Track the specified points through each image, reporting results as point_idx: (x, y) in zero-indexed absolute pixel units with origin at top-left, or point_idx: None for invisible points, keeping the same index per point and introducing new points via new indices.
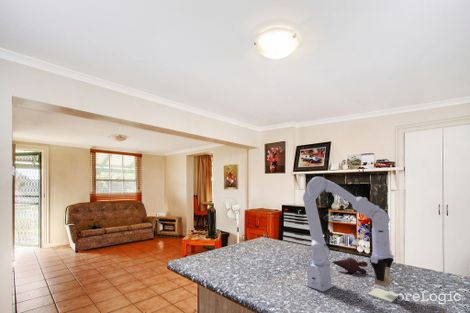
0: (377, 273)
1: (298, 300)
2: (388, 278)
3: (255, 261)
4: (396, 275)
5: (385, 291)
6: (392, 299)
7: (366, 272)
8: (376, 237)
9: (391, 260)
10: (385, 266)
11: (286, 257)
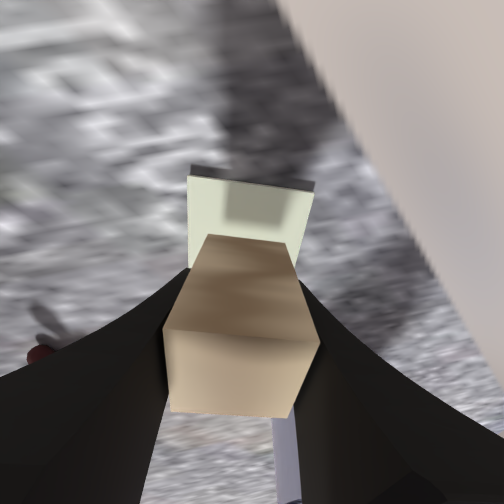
0: None
1: (444, 396)
2: (237, 262)
3: (248, 495)
4: None
5: (199, 241)
6: (285, 192)
7: (37, 347)
8: None
9: (44, 489)
10: (405, 408)
11: (158, 482)
